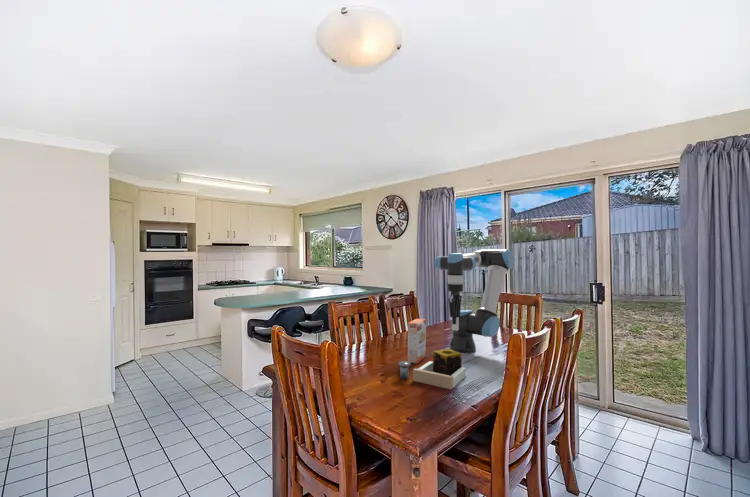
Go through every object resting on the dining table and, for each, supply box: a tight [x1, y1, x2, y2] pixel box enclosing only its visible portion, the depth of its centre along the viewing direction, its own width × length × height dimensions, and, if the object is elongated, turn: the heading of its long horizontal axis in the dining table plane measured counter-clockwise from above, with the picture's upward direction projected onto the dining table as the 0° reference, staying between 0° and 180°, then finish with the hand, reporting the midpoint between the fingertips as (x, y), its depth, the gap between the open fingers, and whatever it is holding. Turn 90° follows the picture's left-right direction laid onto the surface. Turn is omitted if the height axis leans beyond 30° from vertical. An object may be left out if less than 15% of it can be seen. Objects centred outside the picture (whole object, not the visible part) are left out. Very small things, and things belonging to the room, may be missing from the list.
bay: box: [412, 360, 466, 390], centre depth 159 cm, size 18×18×5 cm
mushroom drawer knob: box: [398, 360, 412, 380], centre depth 160 cm, size 6×6×7 cm
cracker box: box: [407, 318, 427, 364], centre depth 186 cm, size 14×6×21 cm, turn 154°
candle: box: [432, 348, 463, 376], centre depth 166 cm, size 10×10×10 cm
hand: (455, 329), depth 175 cm, fingers closed
